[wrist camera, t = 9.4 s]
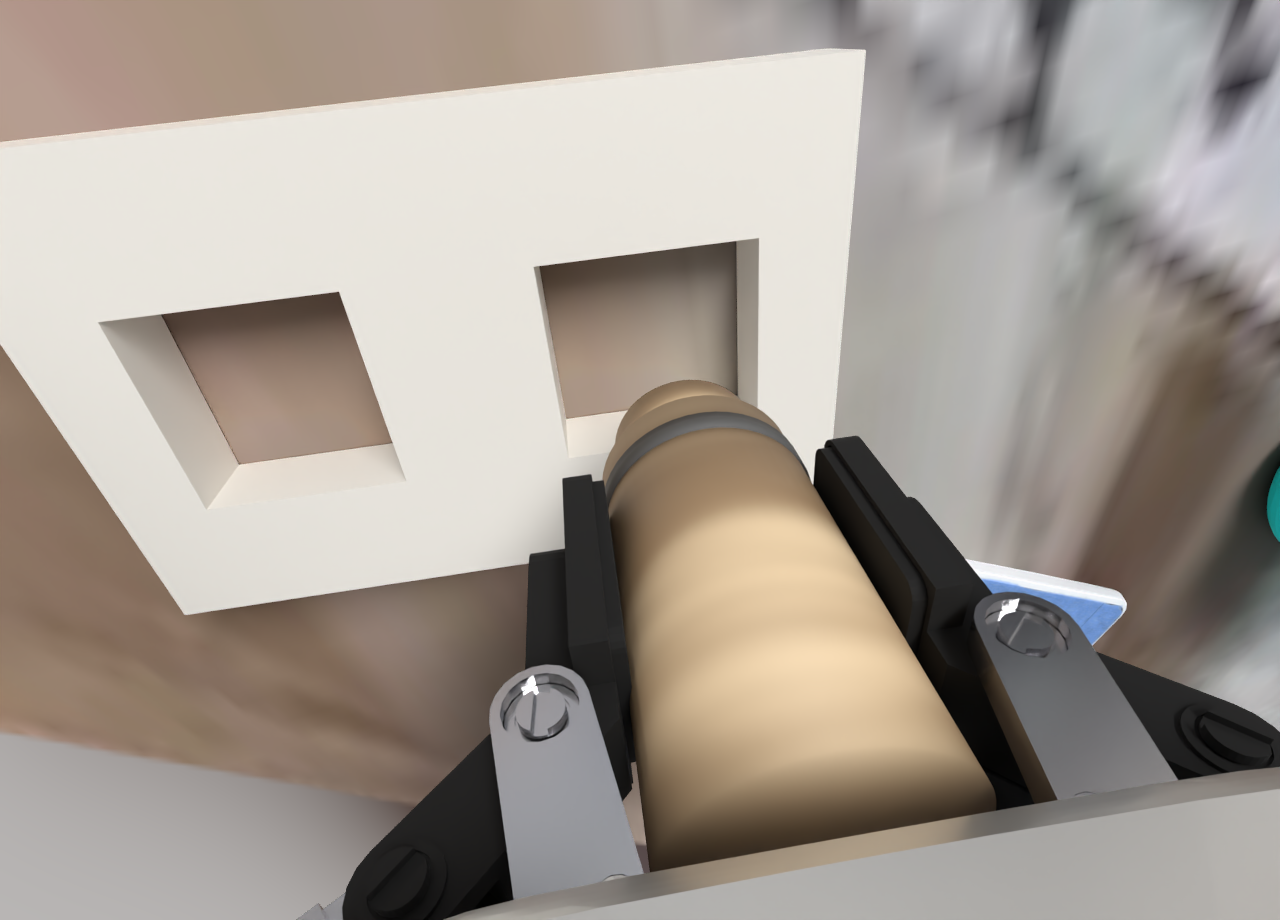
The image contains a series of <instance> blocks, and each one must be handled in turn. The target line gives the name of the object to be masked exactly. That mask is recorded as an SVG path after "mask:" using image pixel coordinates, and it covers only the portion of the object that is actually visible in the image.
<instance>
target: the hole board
mask: <svg viewBox="0 0 1280 920" xmlns="http://www.w3.org/2000/svg"><path fill="white" fill-rule="evenodd" d="M865 55H866V50H854V49H829V48H827V49H818V50H809V51H800V52H791V53H782V54H773V55H765V56H756V57H747V58H738V59H729V60H720V61H712V62H703V63H694V64H685V65H676V66H667V67H659V68H650V69H641V70H632V71H623V72H614V73H606V74H597V75H588V76H579V77H570V78H561V79H552V80H544V81H535V82H526V83H517V84H508V85H499V86H491V87H482V88H473V89H464V90H455V91H446V92H438V93H429V94H420V95H411V96H402V97H393V98H385V99H376V100H367V101H358V102H349V103H340V104H331V105H323V106H314V107H305V108H296V109H287V110H278V111H270V112H261V113H252V114H243V115H234V116H225V117H217V118H208V119H199V120H190V121H181V122H172V123H163V124H155V125H146V126H137V127H128V128H119V129H110V130H102V131H93V132H84V133H75V134H66V135H57V136H49V137H40V138H31V139H22V140H13V141H4V142H0V344H1V346H2V347H3V349H4V350H5V352H6V353H7V355H8V356H9V357H10V359H11V360H12V362H13V363H14V365H15V366H16V368H17V369H18V371H19V372H20V374H21V375H22V377H23V378H24V380H25V381H26V382H27V384H28V385H29V387H30V388H31V390H32V391H33V393H34V394H35V396H36V397H37V399H38V400H39V402H40V403H41V404H42V406H43V407H44V409H45V410H46V412H47V413H48V415H49V416H50V418H51V419H52V421H53V422H54V424H55V425H56V426H57V428H58V429H59V431H60V432H61V434H62V435H63V437H64V438H65V440H66V441H67V443H68V444H69V446H70V447H71V448H72V450H73V451H74V453H75V454H76V456H77V457H78V459H79V460H80V462H81V463H82V465H83V466H84V468H85V469H86V471H87V472H88V473H89V475H90V476H91V478H92V479H93V481H94V482H95V484H96V485H97V487H98V488H99V490H100V491H101V493H102V494H103V495H104V497H105V498H106V500H107V501H108V503H109V504H110V506H111V507H112V509H113V510H114V512H115V513H116V515H117V516H118V517H119V519H120V520H121V522H122V523H123V525H124V526H125V528H126V529H127V531H128V532H129V534H130V535H131V537H132V538H133V540H134V541H135V542H136V544H137V545H138V547H139V548H140V550H141V551H142V553H143V554H144V556H145V557H146V559H147V560H148V562H149V563H150V564H151V566H152V567H153V569H154V570H155V572H156V573H157V575H158V576H159V578H160V579H161V581H162V582H163V584H164V585H165V586H166V588H167V589H168V591H169V592H170V594H171V595H172V597H173V598H174V600H175V601H176V603H177V604H178V606H179V607H180V609H181V610H182V611H183V613H184V614H185V615H189V614H196V613H202V612H209V611H215V610H222V609H229V608H235V607H242V606H249V605H255V604H262V603H269V602H275V601H282V600H288V599H295V598H302V597H308V596H315V595H322V594H328V593H335V592H342V591H348V590H355V589H361V588H368V587H375V586H381V585H388V584H395V583H401V582H408V581H415V580H421V579H428V578H435V577H441V576H448V575H454V574H461V573H468V572H474V571H481V570H488V569H494V568H501V567H508V566H514V565H521V564H527V563H529V556H530V554H532V553H539V552H546V551H552V550H559V549H565V539H564V513H563V487H562V479H563V478H567V477H574V476H581V475H588V474H591V475H592V480H593V481H600V480H602V478H603V471H604V467H605V463H606V460H607V458H608V456H609V453H610V451H611V449H612V448H613V446H614V444H615V439H616V434H617V430H618V427H619V425H620V422H621V420H622V419H623V417H624V415H625V414H626V412H627V411H628V410H627V411H620V412H613V413H606V414H599V415H592V416H585V417H577V418H570V419H566V415H565V409H564V404H563V398H562V392H561V387H560V381H559V376H558V370H557V364H556V359H555V353H554V347H553V342H552V336H551V330H550V325H549V319H548V314H547V308H546V302H545V297H544V291H543V285H542V280H541V274H540V268H539V266H543V265H551V264H559V263H567V262H575V261H583V260H590V259H598V258H606V257H614V256H622V255H630V254H637V253H645V252H653V251H661V250H669V249H677V248H684V247H692V246H700V245H708V244H716V243H724V242H732V241H736V247H737V354H738V395H736V396H737V397H738V398H739V399H740V400H741V401H744V402H746V403H749V404H751V405H753V406H755V407H756V408H758V409H760V410H761V411H763V412H764V413H765V414H766V415H768V416H769V417H770V418H771V419H772V420H773V421H774V422H775V424H776V425H777V426H778V427H779V429H780V430H781V432H782V434H783V435H784V436H785V437H786V438H787V439H788V441H789V442H790V443H791V444H792V445H793V447H794V449H795V450H796V452H797V454H798V455H799V457H800V458H801V460H802V462H803V464H804V465H805V467H806V469H807V471H808V474H809V477H810V479H811V482H812V484H813V481H814V466H815V454H816V451H817V449H821V448H824V445H825V442H826V441H827V440H830V439H833V431H834V419H835V408H836V396H837V384H838V372H839V361H840V349H841V337H842V325H843V314H844V302H845V290H846V278H847V267H848V255H849V243H850V231H851V219H852V208H853V196H854V184H855V172H856V161H857V149H858V137H859V125H860V114H861V102H862V90H863V78H864V67H865ZM332 292H339V293H340V296H341V299H342V301H343V304H344V307H345V310H346V313H347V316H348V318H349V321H350V324H351V327H352V330H353V332H354V335H355V338H356V341H357V344H358V346H359V349H360V352H361V355H362V358H363V361H364V363H365V366H366V369H367V372H368V375H369V377H370V380H371V383H372V386H373V389H374V392H375V394H376V397H377V400H378V403H379V406H380V408H381V411H382V414H383V417H384V420H385V422H386V425H387V428H388V431H389V434H390V437H391V439H392V442H393V443H391V444H384V445H377V446H370V447H363V448H356V449H348V450H341V451H334V452H327V453H320V454H313V455H306V456H298V457H291V458H284V459H277V460H270V461H263V462H256V463H248V464H241V465H239V464H238V462H237V460H236V458H235V456H234V454H233V452H232V450H231V448H230V446H229V444H228V443H227V441H226V439H225V437H224V435H223V433H222V431H221V429H220V427H219V425H218V423H217V421H216V420H215V418H214V416H213V414H212V412H211V410H210V408H209V406H208V404H207V402H206V400H205V398H204V397H203V395H202V393H201V391H200V389H199V387H198V385H197V383H196V381H195V379H194V377H193V375H192V373H191V372H190V370H189V368H188V366H187V364H186V362H185V360H184V358H183V356H182V354H181V352H180V350H179V349H178V347H177V345H176V343H175V341H174V339H173V337H172V335H171V333H170V331H169V329H168V327H167V325H166V324H165V322H164V320H163V318H162V316H161V314H167V313H175V312H183V311H191V310H198V309H206V308H214V307H222V306H230V305H238V304H246V303H253V302H261V301H269V300H277V299H285V298H293V297H300V296H308V295H316V294H324V293H332Z"/></svg>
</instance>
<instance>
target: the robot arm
mask: <svg viewBox="0 0 1280 920" xmlns="http://www.w3.org/2000/svg"><path fill="white" fill-rule="evenodd" d="M813 486H814V487H815V489H816V491H817V492H818V494H819V496H820V497H821V499H822V501H823V502H824V504H825V506H826V507H827V509H828V511H829V512H830V514H831V516H832V517H833V519H834V521H835V522H836V524H837V526H838V528H839V529H840V531H841V533H842V534H843V536H844V538H845V539H846V541H847V543H848V544H849V546H850V548H851V549H852V551H853V553H854V554H855V556H856V558H857V559H858V561H859V563H860V564H861V566H862V568H863V569H864V571H865V573H866V574H867V576H868V578H869V579H870V581H871V583H872V585H873V586H874V588H875V590H876V591H877V593H878V595H879V596H880V598H881V600H882V601H883V603H884V605H885V606H886V608H887V610H888V611H889V613H890V615H891V616H892V618H893V620H894V621H895V623H896V625H897V626H898V628H899V630H900V631H901V633H902V635H903V637H904V638H905V640H906V642H907V643H908V645H909V647H910V648H911V650H912V652H913V653H914V655H915V657H916V658H917V660H918V662H919V663H920V665H921V667H922V668H923V670H924V672H925V673H926V675H927V677H928V678H929V680H930V682H931V683H932V685H933V687H934V688H935V690H936V692H937V694H938V695H939V697H940V699H941V700H942V702H943V704H944V705H945V707H946V709H947V710H948V712H949V714H950V715H951V717H952V719H953V720H954V722H955V724H956V725H957V727H958V729H959V730H960V732H961V734H962V735H963V737H964V739H965V740H966V742H967V744H968V745H969V747H970V749H971V751H972V752H973V754H974V756H975V757H976V759H977V761H978V762H979V764H980V766H981V767H982V769H983V771H984V772H985V774H986V776H987V777H988V779H989V781H990V783H991V784H992V786H993V788H994V791H995V795H996V811H992V812H986V813H980V814H974V815H969V816H963V817H957V818H952V819H946V820H940V821H935V822H929V823H923V824H918V825H912V826H906V827H900V828H895V829H889V830H883V831H878V832H872V833H867V834H861V835H855V836H850V837H844V838H838V839H833V840H827V841H821V842H816V843H810V844H804V845H799V846H793V847H788V848H782V849H777V850H771V851H766V852H760V853H755V854H749V855H744V856H738V857H733V858H727V859H722V860H716V861H711V862H705V863H700V864H694V865H689V866H683V867H678V868H672V869H667V870H661V871H656V872H650V873H645V874H644V873H643V870H642V866H641V863H640V859H639V856H638V853H637V850H636V846H635V843H634V840H633V836H632V833H631V830H630V826H629V823H628V820H627V816H626V813H625V810H624V806H623V803H622V801H623V800H624V799H625V797H626V796H627V795H628V793H629V792H630V791H631V790H632V783H633V777H632V769H631V763H632V762H636V756H635V748H634V740H633V732H632V724H631V716H630V696H631V689H632V683H631V676H630V668H629V661H628V653H627V646H626V638H625V631H624V623H623V616H622V608H621V601H620V593H619V586H618V578H617V571H616V563H615V556H614V548H613V541H612V533H611V526H610V518H609V512H608V505H607V498H606V491H605V485H604V480H600V481H593V480H592V475H591V474H588V475H581V476H574V477H567V478H563V479H562V487H563V513H564V539H565V549H559V550H552V551H546V552H539V553H532V554H530V556H529V572H528V604H527V635H526V667H525V670H524V671H522V672H520V673H517V674H516V675H515V676H513V677H512V678H511V679H509V680H508V681H507V682H505V683H504V685H503V686H502V687H501V688H500V690H499V691H498V692H497V694H496V695H495V697H494V700H493V702H492V705H491V707H490V718H489V724H490V731H491V733H490V734H489V735H488V736H487V737H486V738H485V739H484V740H483V741H482V742H481V743H480V744H479V745H478V746H477V747H476V748H475V749H474V750H473V751H472V752H471V753H470V754H469V755H468V756H467V757H466V758H465V759H464V760H463V761H462V762H461V763H460V764H459V765H458V766H457V767H456V768H455V769H454V770H453V771H452V772H451V773H450V774H449V775H447V776H446V777H445V778H444V779H443V780H442V781H441V782H440V783H439V784H438V785H437V786H436V787H435V788H434V789H433V790H432V791H431V792H430V793H429V794H428V795H427V796H426V797H425V798H424V799H423V800H422V801H421V802H420V803H419V804H418V805H417V806H416V807H415V808H414V809H413V810H412V811H411V812H410V813H409V814H408V815H407V816H406V817H405V818H404V819H403V820H402V821H401V822H400V823H399V824H398V825H397V826H396V827H395V828H394V829H393V830H392V831H391V832H390V833H389V834H388V835H387V836H386V837H384V838H383V840H381V841H380V842H379V844H377V845H376V847H374V848H373V849H372V850H371V851H370V853H369V854H368V855H367V856H366V857H365V859H364V860H363V861H362V862H361V863H360V865H359V866H358V867H357V868H356V870H355V872H354V874H353V876H352V878H351V880H350V882H349V884H348V886H347V888H346V892H345V893H344V894H343V895H341V896H340V897H339V898H338V899H336V900H335V901H334V902H332V903H331V904H329V905H328V906H327V907H325V908H324V909H323V908H322V907H321V906H320V904H319V903H318V904H317V905H315V906H314V907H313V908H311V909H310V910H309V911H307V912H306V913H304V914H303V915H302V916H301V917H299V918H298V919H297V920H1280V732H1279V731H1278V730H1277V729H1276V728H1274V727H1273V726H1272V725H1270V724H1269V723H1267V722H1266V721H1264V720H1263V719H1261V718H1260V717H1258V716H1257V715H1255V714H1254V713H1252V712H1250V711H1247V710H1245V709H1243V708H1241V707H1239V706H1237V705H1235V704H1232V703H1230V702H1227V701H1225V700H1222V699H1219V698H1217V697H1214V696H1211V695H1209V694H1206V693H1203V692H1201V691H1198V690H1196V689H1193V688H1190V687H1188V686H1185V685H1182V684H1180V683H1177V682H1175V681H1172V680H1169V679H1167V678H1164V677H1161V676H1159V675H1156V674H1153V673H1151V672H1148V671H1146V670H1143V669H1140V668H1138V667H1135V666H1132V665H1130V664H1127V663H1124V662H1122V661H1119V660H1117V659H1114V658H1111V657H1109V656H1106V655H1103V654H1101V653H1098V652H1096V651H1095V650H1094V648H1093V647H1092V645H1091V644H1090V642H1089V640H1088V639H1087V637H1086V636H1085V634H1084V633H1083V631H1082V629H1081V628H1080V626H1079V625H1078V624H1077V623H1076V622H1075V621H1074V619H1073V618H1072V617H1071V616H1070V615H1069V614H1068V613H1066V612H1065V611H1064V610H1062V609H1061V608H1060V607H1058V606H1057V605H1055V604H1053V603H1051V602H1049V601H1047V600H1045V599H1042V598H1040V597H1037V596H1033V595H1030V594H1026V593H1019V592H1001V593H994V594H993V593H992V592H991V591H990V590H989V588H988V587H987V586H986V585H985V583H984V582H983V581H982V580H981V578H980V577H979V576H978V575H977V573H976V572H975V571H974V570H973V568H972V567H971V566H970V565H969V563H968V562H967V561H966V560H965V558H964V557H963V556H962V555H961V553H960V552H959V551H958V550H957V548H956V547H955V546H954V545H953V543H952V542H951V541H950V540H949V538H948V537H947V536H946V535H945V533H944V532H943V531H942V530H941V528H940V527H939V526H938V525H937V523H936V522H935V521H934V520H933V518H932V517H931V516H930V515H929V514H928V512H927V511H926V510H925V509H924V507H923V506H922V505H921V504H920V503H919V502H918V501H917V500H916V499H915V498H912V497H906V496H905V494H904V493H903V492H902V491H901V489H900V488H899V487H898V485H897V484H896V483H895V482H894V480H893V479H892V478H891V477H890V475H889V474H888V473H887V471H886V470H885V469H884V468H883V466H882V465H881V464H880V462H879V461H878V460H877V459H876V457H875V456H874V455H873V454H872V452H871V451H870V450H869V448H868V447H867V446H866V445H865V443H864V442H863V441H862V439H861V438H859V437H858V436H851V437H844V438H837V439H830V440H827V441H826V442H825V445H824V448H821V449H817V451H816V454H815V466H814V481H813Z"/></svg>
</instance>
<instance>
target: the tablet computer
mask: <svg viewBox="0 0 1280 920" xmlns="http://www.w3.org/2000/svg"><path fill="white" fill-rule="evenodd" d="M965 560H966V561H967V562H968V563H969V565H970V566H971V567H972V568H973V570H974V571H975V572H976V573H977V575H978V576H979V577H980V578H981V580H982V581H983V582H984V583H985V585H986V586H987V587H988V588H989V590H990V591H991V592H992V593H993V594H994V593H1001V592H1019V593H1026V594H1030V595H1033V596H1037V597H1040V598H1042V599H1045V600H1047V601H1049V602H1051V603H1053V604H1055V605H1057V606H1058V607H1060V608H1061V609H1062V610H1064V611H1065V612H1066V613H1068V614H1069V615H1070V616H1071V617H1072V618H1073V619H1074V621H1075V622H1076V623H1077V624H1078V625H1079V626H1080V628H1081V629H1082V631H1083V633H1084V634H1085V636H1086V637H1087V639H1088V640H1089V642H1090V644H1091V645H1093V644H1094V643H1095V642H1096V641H1097V640H1098V639H1099V638H1100V637H1101V636H1102V635H1103V634H1104V633H1105V632H1106V631H1107V630H1108V629H1109V628H1110V627H1111V626H1112V625H1113V624H1114V623H1115V622H1116V621H1117V620H1118V619H1119V618H1120V617H1121V616H1122V614H1123V613H1124V612H1125V610H1126V606H1127V604H1126V601H1125V599H1124V598H1123V596H1122V595H1121V594H1120V593H1119V592H1118V591H1116V590H1113V589H1109V588H1104V587H1100V586H1096V585H1091V584H1087V583H1082V582H1077V581H1072V580H1067V579H1062V578H1057V577H1052V576H1048V575H1043V574H1038V573H1034V572H1029V571H1024V570H1019V569H1013V568H1008V567H1003V566H998V565H993V564H988V563H983V562H978V561H973V560H968V559H965Z"/></svg>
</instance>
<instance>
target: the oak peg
mask: <svg viewBox="0 0 1280 920" xmlns="http://www.w3.org/2000/svg"><path fill="white" fill-rule="evenodd" d="M602 480H604V485H605V491H606V498H607V505H608V512H609V518H610V526H611V533H612V541H613V548H614V556H615V563H616V571H617V578H618V586H619V593H620V601H621V608H622V616H623V623H624V631H625V638H626V646H627V653H628V661H629V668H630V676H631V683H632V689H631V696H630V716H631V724H632V732H633V740H634V748H635V756H636V764H637V772H638V780H639V788H640V796H641V804H642V812H643V820H644V828H645V836H646V844H647V852H648V860H649V868H650V872H656V871H661V870H667V869H672V868H678V867H683V866H689V865H694V864H700V863H705V862H711V861H716V860H722V859H727V858H733V857H738V856H744V855H749V854H755V853H760V852H766V851H771V850H777V849H782V848H788V847H793V846H799V845H804V844H810V843H816V842H821V841H827V840H833V839H838V838H844V837H850V836H855V835H861V834H867V833H872V832H878V831H883V830H889V829H895V828H900V827H906V826H912V825H918V824H923V823H929V822H935V821H940V820H946V819H952V818H957V817H963V816H969V815H974V814H980V813H986V812H992V811H996V795H995V791H994V788H993V786H992V784H991V783H990V781H989V779H988V777H987V776H986V774H985V772H984V771H983V769H982V767H981V766H980V764H979V762H978V761H977V759H976V757H975V756H974V754H973V752H972V751H971V749H970V747H969V745H968V744H967V742H966V740H965V739H964V737H963V735H962V734H961V732H960V730H959V729H958V727H957V725H956V724H955V722H954V720H953V719H952V717H951V715H950V714H949V712H948V710H947V709H946V707H945V705H944V704H943V702H942V700H941V699H940V697H939V695H938V694H937V692H936V690H935V688H934V687H933V685H932V683H931V682H930V680H929V678H928V677H927V675H926V673H925V672H924V670H923V668H922V667H921V665H920V663H919V662H918V660H917V658H916V657H915V655H914V653H913V652H912V650H911V648H910V647H909V645H908V643H907V642H906V640H905V638H904V637H903V635H902V633H901V631H900V630H899V628H898V626H897V625H896V623H895V621H894V620H893V618H892V616H891V615H890V613H889V611H888V610H887V608H886V606H885V605H884V603H883V601H882V600H881V598H880V596H879V595H878V593H877V591H876V590H875V588H874V586H873V585H872V583H871V581H870V579H869V578H868V576H867V574H866V573H865V571H864V569H863V568H862V566H861V564H860V563H859V561H858V559H857V558H856V556H855V554H854V553H853V551H852V549H851V548H850V546H849V544H848V543H847V541H846V539H845V538H844V536H843V534H842V533H841V531H840V529H839V528H838V526H837V524H836V522H835V521H834V519H833V517H832V516H831V514H830V512H829V511H828V509H827V507H826V506H825V504H824V502H823V501H822V499H821V497H820V496H819V494H818V492H817V491H816V489H815V487H814V486H813V484H812V482H811V479H810V477H809V474H808V471H807V469H806V467H805V465H804V464H803V462H802V460H801V458H800V457H799V455H798V454H797V452H796V450H795V449H794V447H793V445H792V444H791V443H790V442H789V441H788V439H787V438H786V437H785V436H784V435H783V434H782V432H781V430H780V429H779V427H778V426H777V425H776V424H775V422H774V421H773V420H772V419H771V418H770V417H769V416H768V415H766V414H765V413H764V412H763V411H761V410H760V409H758V408H756V407H755V406H753V405H751V404H749V403H746V402H744V401H741V400H740V399H739V398H738V397H737V396H736V395H734V394H733V393H732V392H731V391H729V390H727V389H726V388H724V387H722V386H720V385H717V384H714V383H711V382H707V381H701V380H682V381H676V382H671V383H668V384H665V385H662V386H660V387H657V388H655V389H653V390H651V391H650V392H648V393H646V394H645V395H643V396H642V397H641V398H640V399H638V400H637V401H636V402H635V403H634V404H633V405H632V406H631V407H630V408H629V410H628V411H627V412H626V414H625V415H624V417H623V419H622V420H621V422H620V425H619V427H618V430H617V434H616V439H615V444H614V446H613V448H612V449H611V451H610V453H609V456H608V458H607V460H606V463H605V467H604V471H603V478H602Z"/></svg>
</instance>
